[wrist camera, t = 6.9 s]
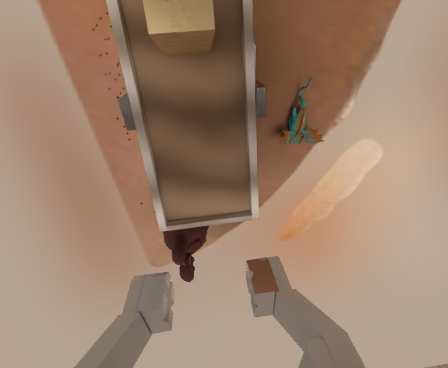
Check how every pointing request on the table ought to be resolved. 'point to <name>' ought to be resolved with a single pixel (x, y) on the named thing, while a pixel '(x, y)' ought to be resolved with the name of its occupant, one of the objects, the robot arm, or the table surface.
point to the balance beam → (194, 117)
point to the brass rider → (181, 25)
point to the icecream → (185, 247)
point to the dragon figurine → (300, 126)
